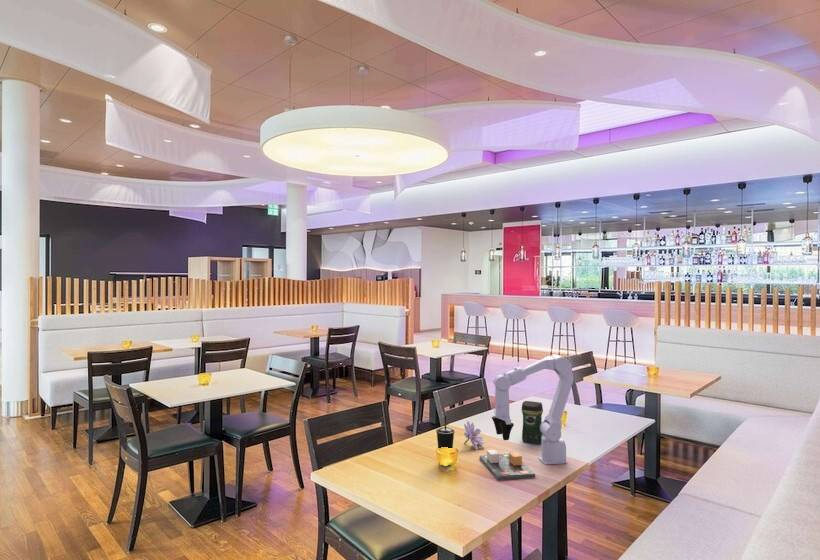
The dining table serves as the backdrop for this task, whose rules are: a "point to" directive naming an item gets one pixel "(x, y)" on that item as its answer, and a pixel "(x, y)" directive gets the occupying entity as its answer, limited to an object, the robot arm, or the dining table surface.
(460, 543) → the dining table surface
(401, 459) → the dining table surface
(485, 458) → the breaker panel
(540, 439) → the coffee jar
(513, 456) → the plain orange cube
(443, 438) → the drinking cup
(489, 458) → the switch
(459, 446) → the dining table surface
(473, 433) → the water lily
